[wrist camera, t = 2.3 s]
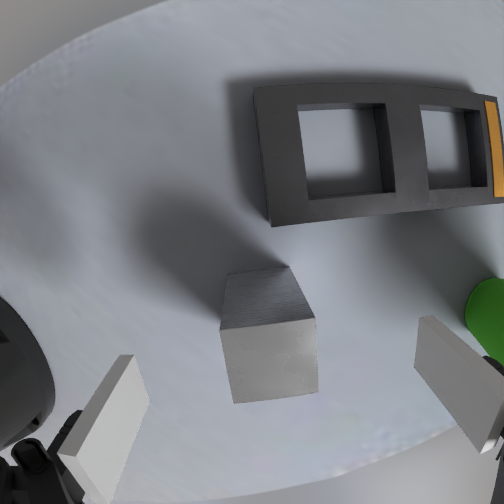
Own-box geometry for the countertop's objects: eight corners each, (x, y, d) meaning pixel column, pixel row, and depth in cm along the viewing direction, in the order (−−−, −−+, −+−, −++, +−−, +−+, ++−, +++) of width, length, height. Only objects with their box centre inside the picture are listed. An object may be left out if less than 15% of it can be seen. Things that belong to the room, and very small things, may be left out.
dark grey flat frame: (268, 222, 20) (271, 227, 18) (252, 96, 18) (253, 87, 16) (491, 199, 20) (507, 202, 18) (481, 100, 18) (497, 96, 16)
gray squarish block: (236, 329, 22) (233, 403, 14) (227, 274, 21) (219, 330, 13) (294, 322, 22) (318, 392, 14) (289, 266, 21) (315, 317, 13)
